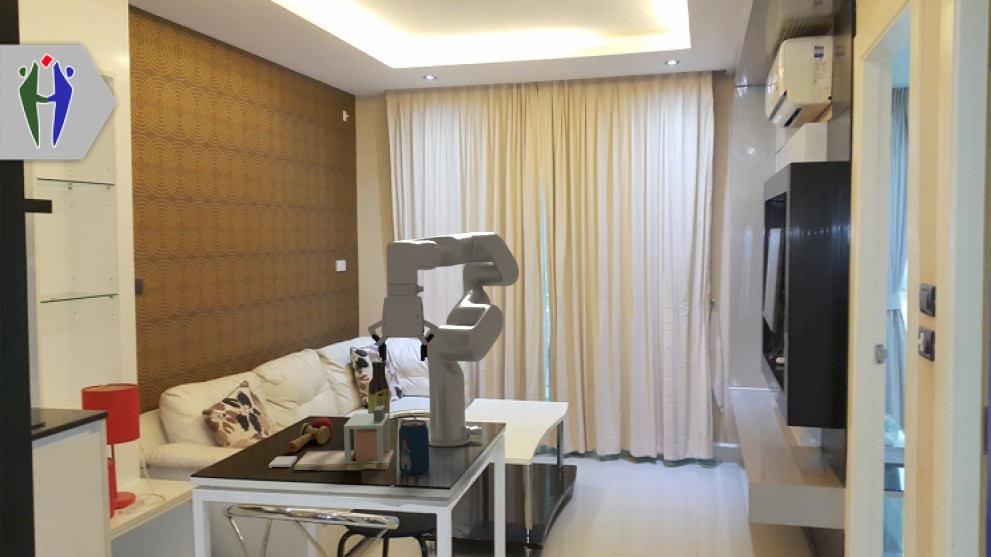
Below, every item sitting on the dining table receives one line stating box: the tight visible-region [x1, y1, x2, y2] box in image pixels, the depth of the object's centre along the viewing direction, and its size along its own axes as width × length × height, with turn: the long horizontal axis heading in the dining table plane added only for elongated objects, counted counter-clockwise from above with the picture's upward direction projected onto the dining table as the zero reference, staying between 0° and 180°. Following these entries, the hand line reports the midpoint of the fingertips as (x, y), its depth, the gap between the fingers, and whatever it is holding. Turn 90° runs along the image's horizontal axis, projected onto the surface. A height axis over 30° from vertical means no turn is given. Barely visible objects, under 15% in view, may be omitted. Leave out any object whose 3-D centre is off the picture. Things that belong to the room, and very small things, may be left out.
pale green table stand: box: [343, 406, 391, 463], centre depth 185 cm, size 9×13×12 cm
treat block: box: [355, 429, 378, 461], centre depth 185 cm, size 5×5×8 cm
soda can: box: [398, 419, 430, 478], centre depth 174 cm, size 7×7×12 cm
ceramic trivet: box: [268, 455, 298, 469], centre depth 185 cm, size 5×7×1 cm
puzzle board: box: [293, 449, 395, 472], centre depth 185 cm, size 22×13×1 cm, turn 90°
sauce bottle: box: [367, 360, 391, 424], centre depth 219 cm, size 7×6×20 cm
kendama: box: [286, 417, 334, 453], centre depth 203 cm, size 8×6×18 cm
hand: (403, 360), depth 184 cm, fingers open, 9 cm apart
